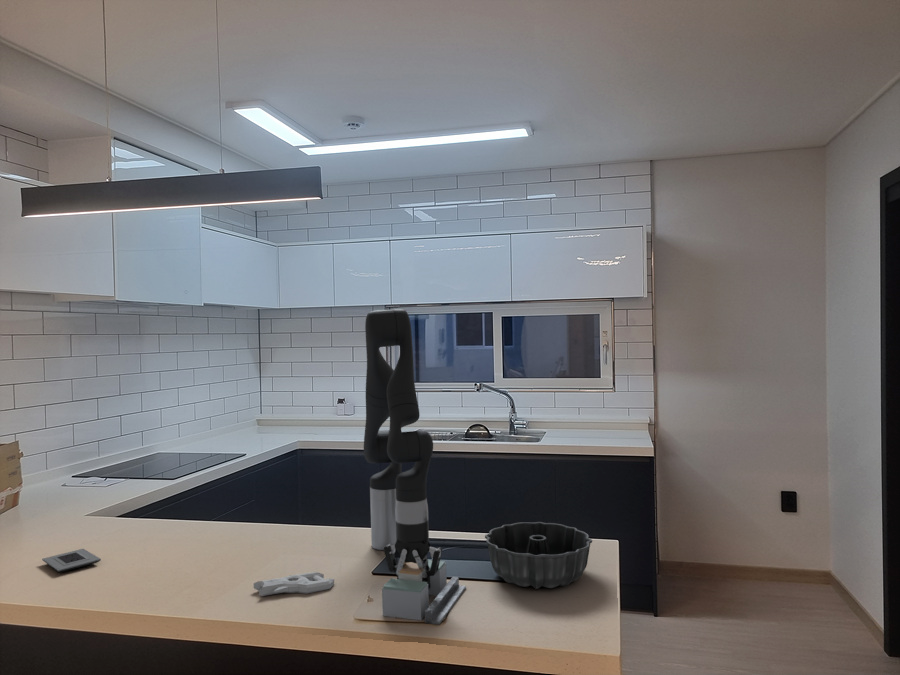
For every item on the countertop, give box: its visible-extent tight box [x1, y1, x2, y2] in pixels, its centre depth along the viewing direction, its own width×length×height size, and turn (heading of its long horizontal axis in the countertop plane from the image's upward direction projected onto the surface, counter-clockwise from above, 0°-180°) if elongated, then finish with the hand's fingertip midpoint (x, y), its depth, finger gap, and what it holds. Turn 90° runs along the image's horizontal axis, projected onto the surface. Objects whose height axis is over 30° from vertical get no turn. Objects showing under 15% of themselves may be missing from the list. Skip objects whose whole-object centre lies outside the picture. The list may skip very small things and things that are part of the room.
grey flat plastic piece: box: [253, 571, 335, 597], centre depth 164 cm, size 18×4×10 cm
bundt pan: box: [484, 521, 593, 590], centre depth 168 cm, size 26×26×10 cm
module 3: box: [411, 559, 448, 597], centre depth 161 cm, size 5×9×6 cm, turn 72°
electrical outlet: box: [41, 548, 102, 573], centre depth 185 cm, size 13×10×2 cm
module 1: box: [398, 562, 429, 591], centre depth 155 cm, size 6×5×6 cm
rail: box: [424, 576, 467, 625], centre depth 153 cm, size 20×3×2 cm, turn 162°
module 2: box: [381, 578, 430, 621], centre depth 149 cm, size 5×9×6 cm, turn 72°
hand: (413, 590), depth 155 cm, fingers closed on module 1, 5 cm apart
